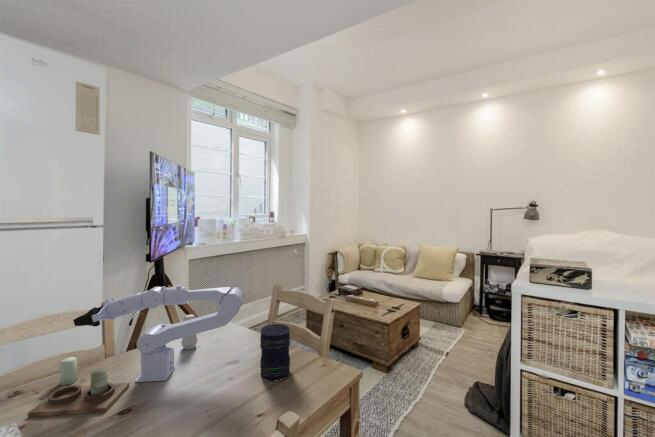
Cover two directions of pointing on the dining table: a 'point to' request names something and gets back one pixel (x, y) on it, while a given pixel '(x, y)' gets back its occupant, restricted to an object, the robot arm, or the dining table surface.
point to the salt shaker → (191, 340)
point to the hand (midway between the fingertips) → (83, 318)
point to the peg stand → (82, 397)
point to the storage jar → (275, 352)
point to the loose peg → (68, 371)
